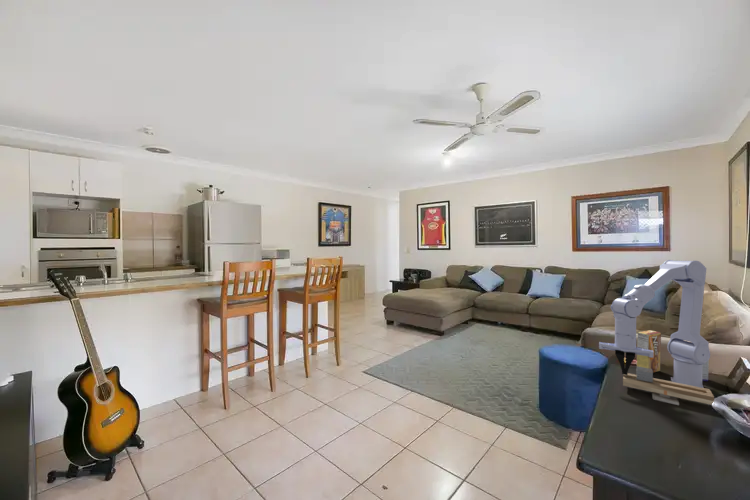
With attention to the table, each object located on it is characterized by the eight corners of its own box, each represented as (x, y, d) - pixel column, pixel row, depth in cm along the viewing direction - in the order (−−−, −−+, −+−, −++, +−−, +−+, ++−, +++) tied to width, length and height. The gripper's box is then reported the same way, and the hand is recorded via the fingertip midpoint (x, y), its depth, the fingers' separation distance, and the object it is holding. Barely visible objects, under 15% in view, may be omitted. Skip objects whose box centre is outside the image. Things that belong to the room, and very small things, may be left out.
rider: (636, 378, 109) (636, 366, 109) (651, 381, 106) (652, 369, 106) (636, 382, 105) (636, 370, 105) (652, 386, 102) (652, 373, 102)
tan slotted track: (623, 383, 113) (623, 371, 113) (708, 402, 99) (708, 388, 99) (622, 392, 106) (623, 379, 106) (714, 413, 92) (714, 398, 92)
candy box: (647, 367, 129) (648, 329, 129) (660, 371, 125) (661, 332, 125) (636, 370, 125) (636, 331, 125) (649, 374, 122) (649, 334, 122)
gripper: (598, 332, 110) (598, 371, 110) (654, 340, 101) (653, 383, 101) (600, 328, 116) (599, 366, 116) (653, 335, 107) (652, 376, 107)
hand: (624, 373), depth 109 cm, fingers closed
